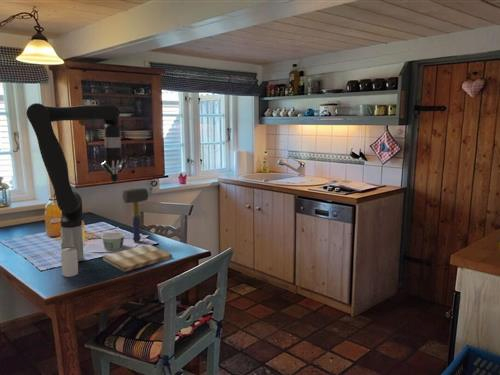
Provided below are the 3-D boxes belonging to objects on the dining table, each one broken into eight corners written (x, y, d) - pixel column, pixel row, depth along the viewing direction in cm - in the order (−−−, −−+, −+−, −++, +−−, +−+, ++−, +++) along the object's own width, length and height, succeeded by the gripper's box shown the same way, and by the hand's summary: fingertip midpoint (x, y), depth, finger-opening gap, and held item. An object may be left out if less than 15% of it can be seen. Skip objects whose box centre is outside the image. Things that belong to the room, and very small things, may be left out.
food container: (129, 244, 222) (128, 232, 221) (119, 251, 211) (119, 239, 209) (107, 243, 224) (107, 231, 222) (97, 250, 212) (97, 238, 211)
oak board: (124, 271, 184) (124, 267, 184) (113, 265, 191) (113, 261, 191) (172, 258, 203) (172, 254, 202) (160, 253, 210) (160, 249, 209)
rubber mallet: (128, 245, 220) (127, 190, 215) (123, 241, 226) (121, 188, 221) (150, 241, 228) (148, 188, 223) (144, 238, 234) (142, 186, 228)
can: (65, 271, 183) (63, 246, 181) (80, 271, 184) (78, 246, 182) (60, 277, 177) (58, 251, 175) (75, 277, 177) (73, 250, 175)
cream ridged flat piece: (113, 265, 191) (113, 261, 191) (102, 259, 198) (102, 255, 198) (160, 252, 210) (160, 249, 209) (149, 247, 217) (149, 244, 216)
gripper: (103, 147, 192) (105, 183, 195) (129, 146, 201) (130, 180, 205) (96, 146, 197) (97, 181, 200) (121, 145, 207) (122, 179, 210)
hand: (114, 181), depth 202 cm, fingers closed
